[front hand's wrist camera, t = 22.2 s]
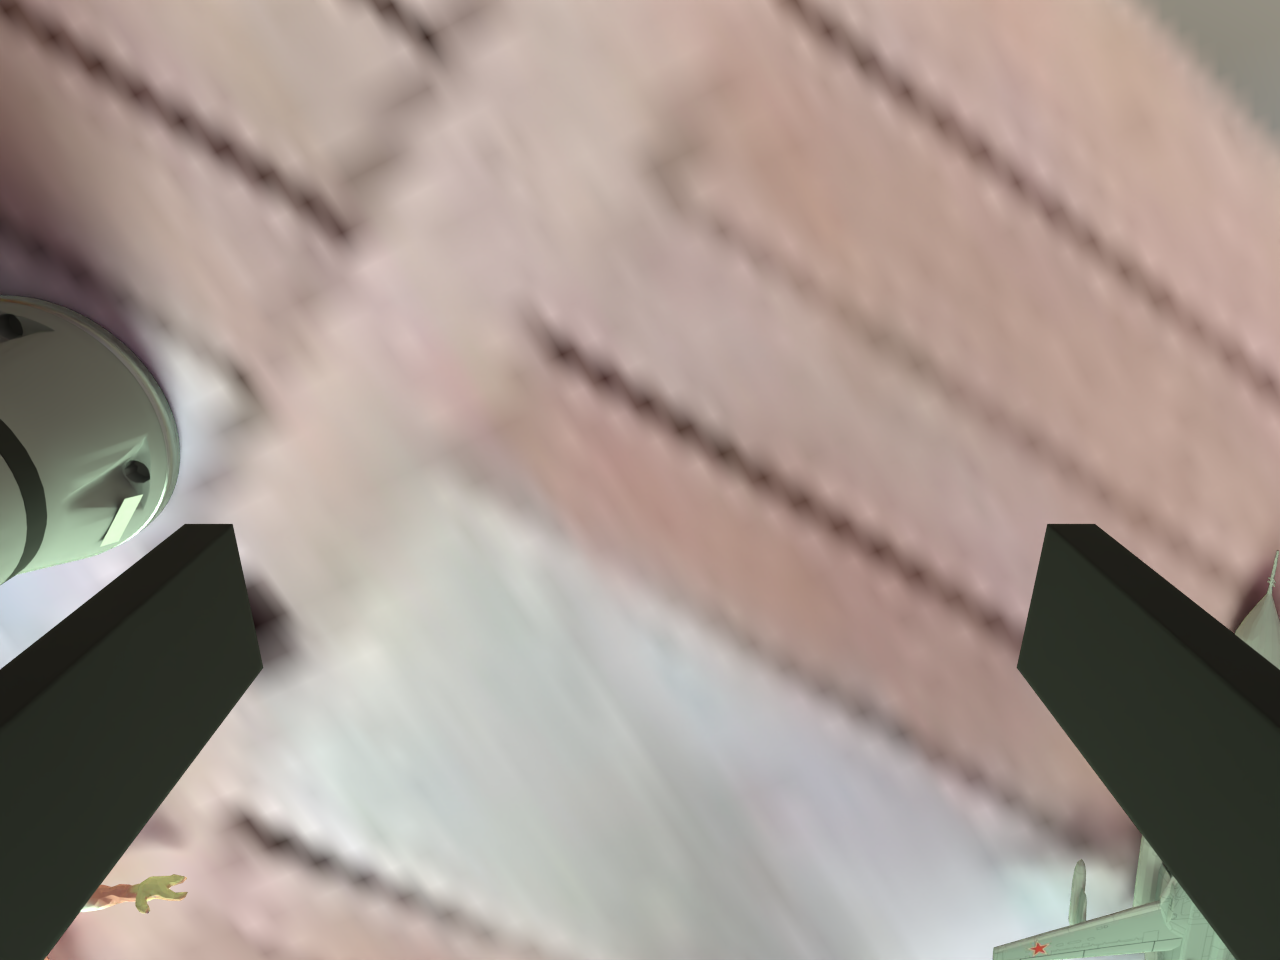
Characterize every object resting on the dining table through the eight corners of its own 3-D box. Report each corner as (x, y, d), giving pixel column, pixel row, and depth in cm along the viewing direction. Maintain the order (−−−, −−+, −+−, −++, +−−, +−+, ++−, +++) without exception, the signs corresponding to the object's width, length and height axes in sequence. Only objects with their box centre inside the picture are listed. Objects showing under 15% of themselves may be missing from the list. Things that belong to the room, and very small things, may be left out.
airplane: (1491, 879, 59) (1653, 1009, 50) (1122, 1068, 66) (1201, 1213, 57) (1256, 537, 49) (1401, 619, 40) (853, 804, 57) (895, 926, 47)
